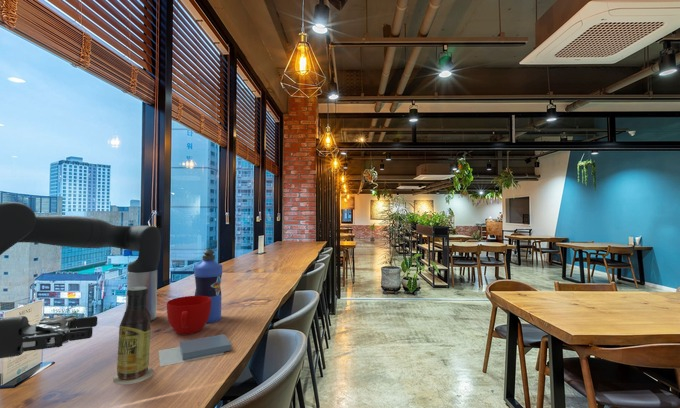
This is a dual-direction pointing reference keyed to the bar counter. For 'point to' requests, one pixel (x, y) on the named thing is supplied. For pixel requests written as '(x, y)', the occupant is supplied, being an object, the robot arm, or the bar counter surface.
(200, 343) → the tile
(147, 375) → the coaster
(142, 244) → the robot arm
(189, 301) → the ceramic cup
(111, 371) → the bar counter surface
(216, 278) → the water bottle
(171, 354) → the mat
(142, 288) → the sauce bottle
